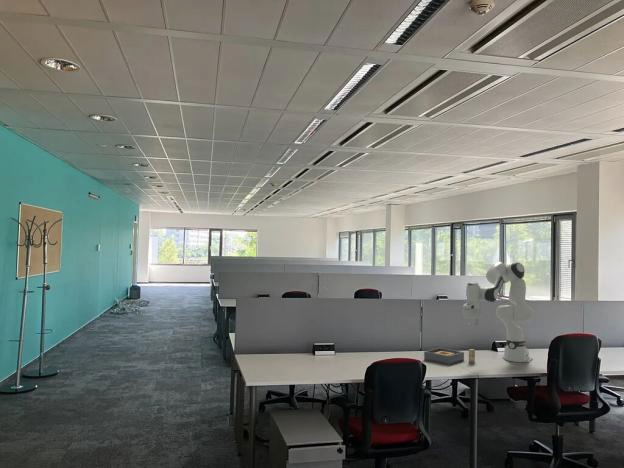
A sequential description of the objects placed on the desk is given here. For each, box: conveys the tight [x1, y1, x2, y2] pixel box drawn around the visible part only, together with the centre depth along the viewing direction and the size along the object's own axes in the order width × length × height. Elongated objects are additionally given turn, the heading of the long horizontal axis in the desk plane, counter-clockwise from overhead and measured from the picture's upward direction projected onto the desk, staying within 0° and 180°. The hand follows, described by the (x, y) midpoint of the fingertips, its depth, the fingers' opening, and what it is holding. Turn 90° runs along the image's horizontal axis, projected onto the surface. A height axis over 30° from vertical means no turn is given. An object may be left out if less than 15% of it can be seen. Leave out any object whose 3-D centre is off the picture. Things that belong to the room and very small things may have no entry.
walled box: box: [423, 347, 465, 366], centre depth 330 cm, size 20×20×6 cm
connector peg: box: [468, 348, 476, 364], centre depth 323 cm, size 4×4×9 cm
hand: (472, 325), depth 324 cm, fingers open, 8 cm apart
